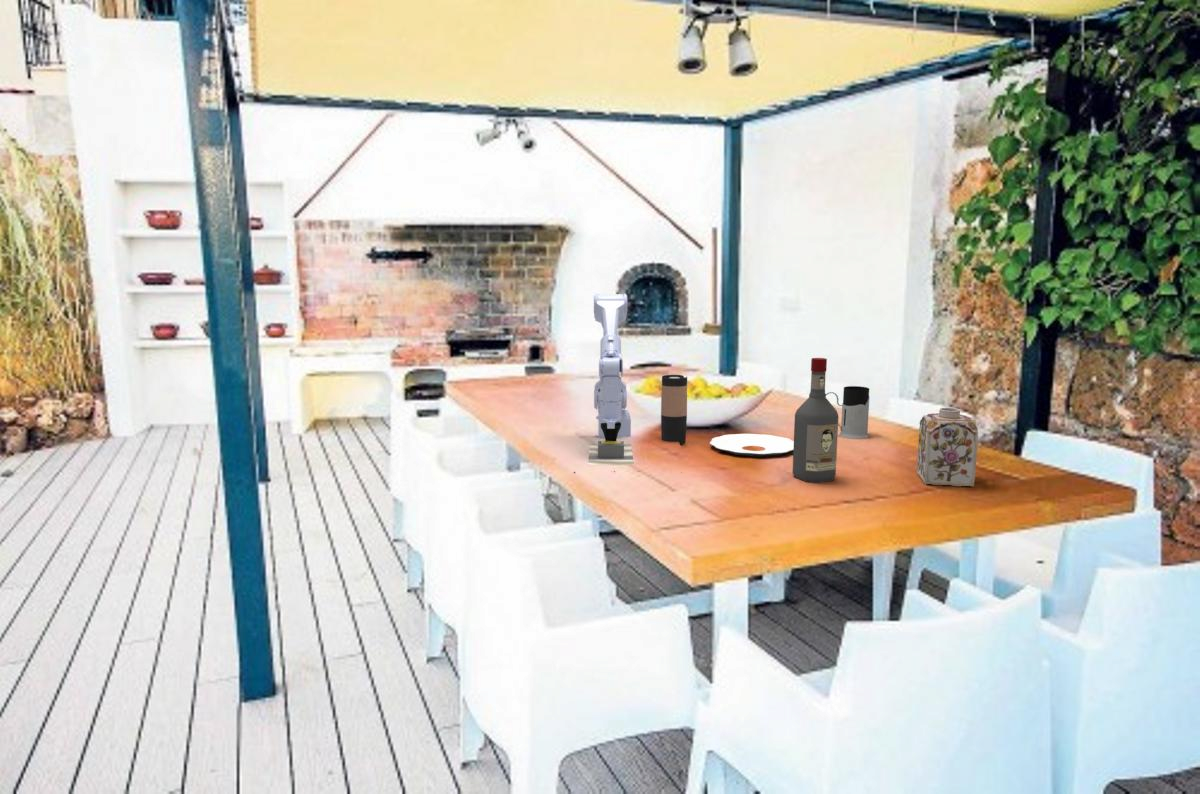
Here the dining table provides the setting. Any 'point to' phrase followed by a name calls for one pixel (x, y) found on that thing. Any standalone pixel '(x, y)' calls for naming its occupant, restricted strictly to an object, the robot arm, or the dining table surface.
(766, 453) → the plate
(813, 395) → the liquor
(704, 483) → the dining table surface
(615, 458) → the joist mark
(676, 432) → the travel mug
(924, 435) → the decorative jar
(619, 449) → the block
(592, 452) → the subfloor plank
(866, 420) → the glass holder
